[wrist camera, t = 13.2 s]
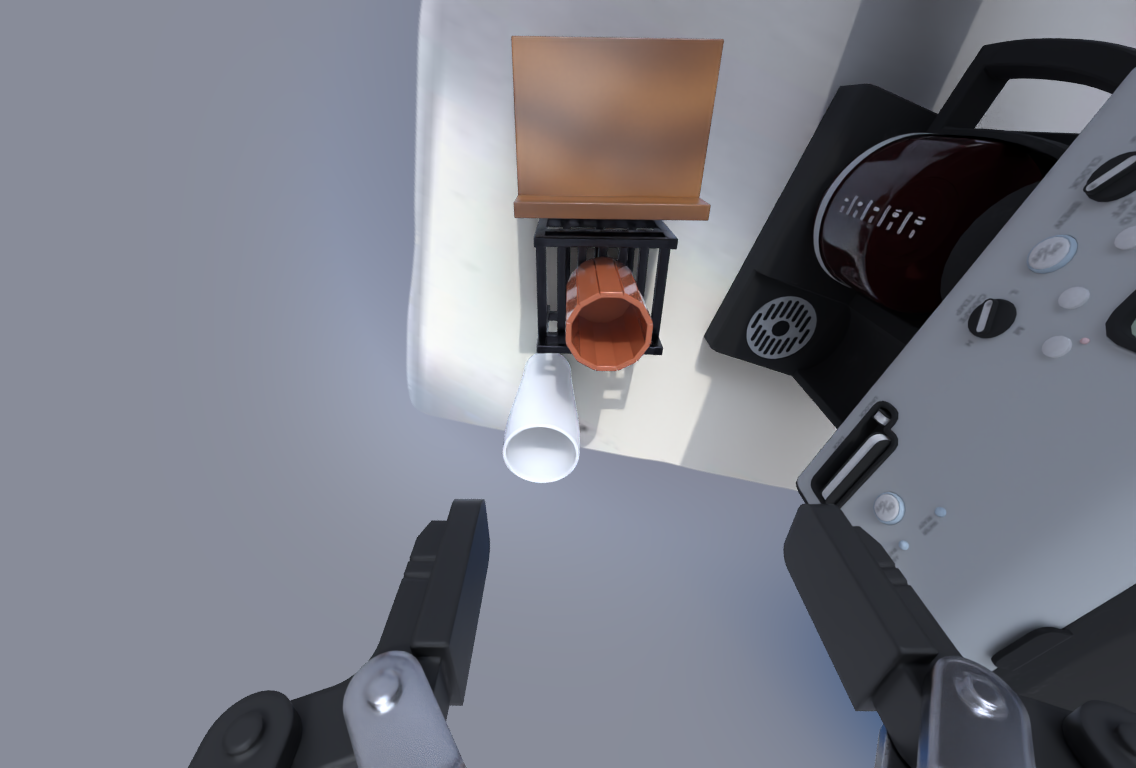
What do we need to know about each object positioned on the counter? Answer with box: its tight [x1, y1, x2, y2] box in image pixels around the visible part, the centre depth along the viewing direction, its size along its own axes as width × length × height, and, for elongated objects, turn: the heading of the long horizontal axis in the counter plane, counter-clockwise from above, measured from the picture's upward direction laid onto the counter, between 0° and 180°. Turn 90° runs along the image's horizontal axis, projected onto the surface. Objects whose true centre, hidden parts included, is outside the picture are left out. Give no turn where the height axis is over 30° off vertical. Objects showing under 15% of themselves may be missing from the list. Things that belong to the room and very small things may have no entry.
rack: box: [534, 218, 678, 355], centre depth 40 cm, size 10×11×10 cm
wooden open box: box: [511, 36, 724, 221], centre depth 32 cm, size 10×13×13 cm
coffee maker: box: [704, 38, 1136, 714], centre depth 28 cm, size 28×20×35 cm
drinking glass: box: [503, 353, 580, 483], centre depth 44 cm, size 7×7×15 cm
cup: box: [566, 257, 653, 371], centre depth 34 cm, size 6×6×8 cm
